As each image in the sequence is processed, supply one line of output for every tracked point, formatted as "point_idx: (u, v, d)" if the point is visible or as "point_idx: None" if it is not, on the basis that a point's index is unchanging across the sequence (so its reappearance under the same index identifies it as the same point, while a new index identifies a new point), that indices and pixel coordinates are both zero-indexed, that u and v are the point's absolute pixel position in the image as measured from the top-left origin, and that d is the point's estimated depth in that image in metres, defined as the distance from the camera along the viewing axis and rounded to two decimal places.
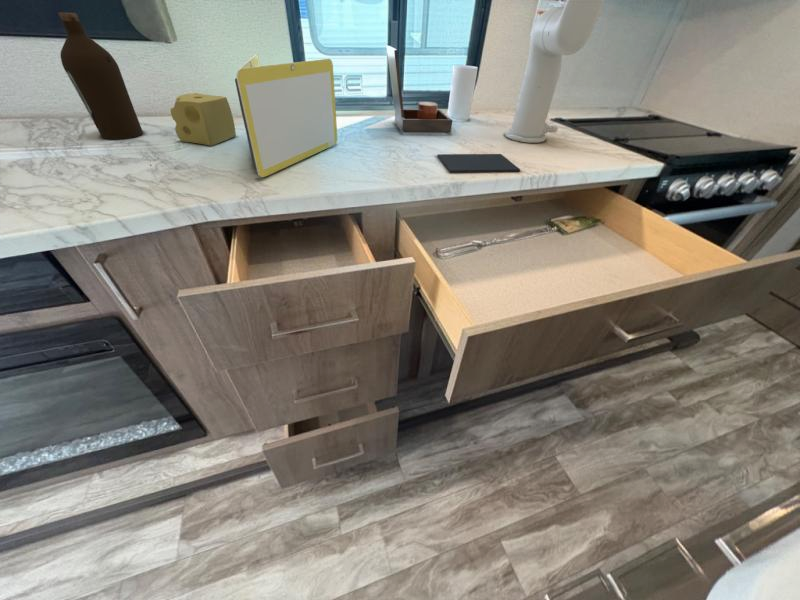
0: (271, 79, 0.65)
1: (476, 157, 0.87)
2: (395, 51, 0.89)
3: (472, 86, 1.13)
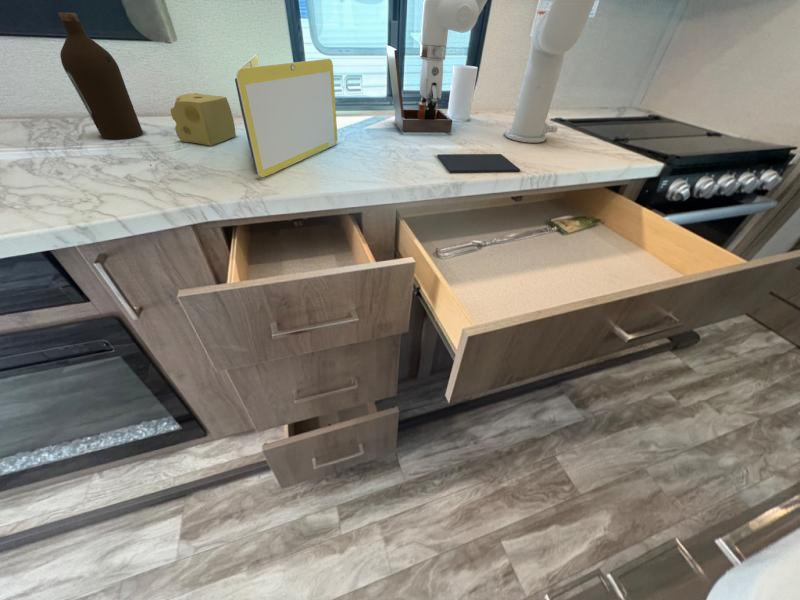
0: (271, 79, 0.65)
1: (476, 157, 0.87)
2: (395, 51, 0.89)
3: (472, 86, 1.13)
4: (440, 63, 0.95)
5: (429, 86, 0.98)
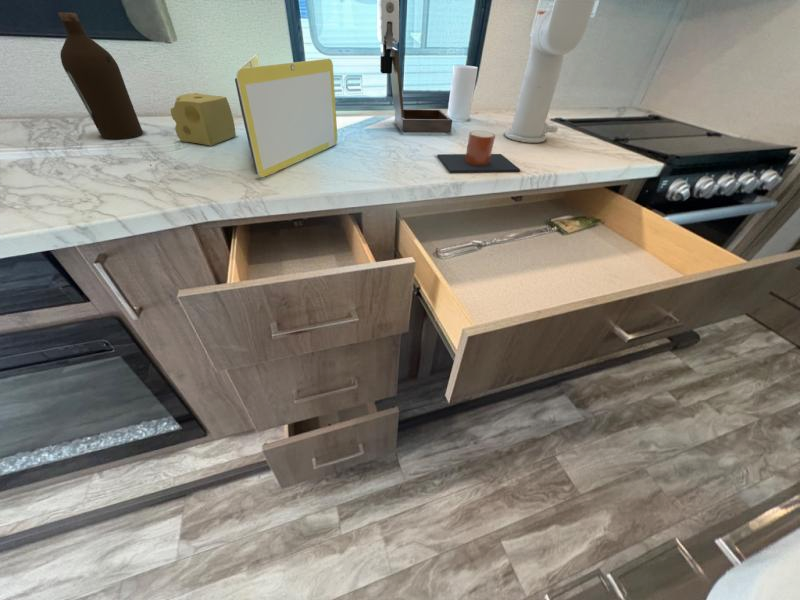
0: (271, 79, 0.65)
1: None
2: (396, 51, 0.89)
3: (472, 86, 1.13)
4: None
5: (384, 26, 0.87)
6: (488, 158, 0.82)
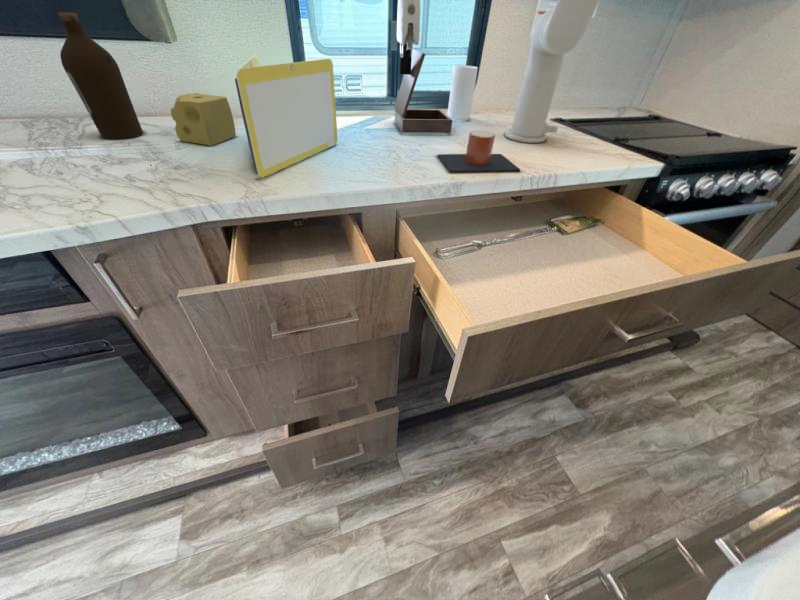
0: (271, 79, 0.65)
1: None
2: (423, 54, 0.90)
3: (472, 86, 1.13)
4: (416, 0, 0.85)
5: (405, 27, 0.88)
6: (488, 158, 0.82)
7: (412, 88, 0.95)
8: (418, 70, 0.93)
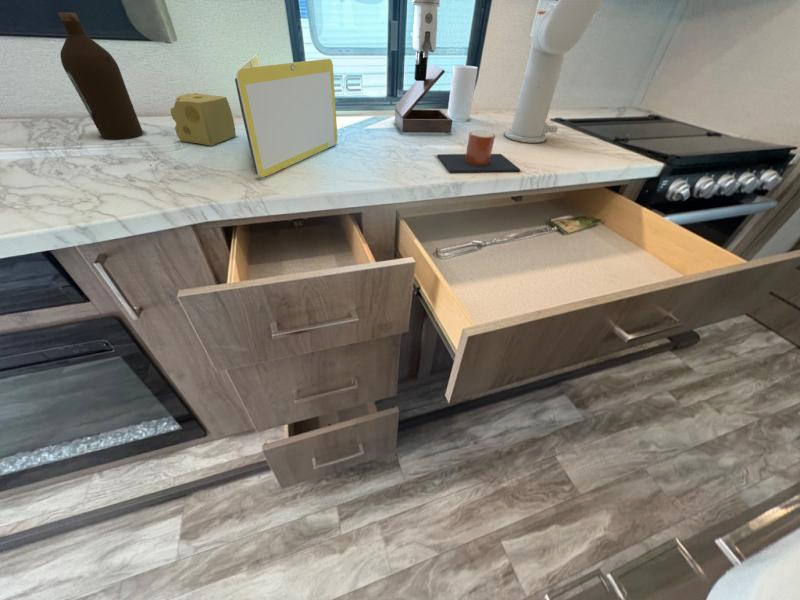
0: (271, 79, 0.65)
1: None
2: (443, 71, 0.94)
3: (472, 86, 1.13)
4: (434, 9, 0.87)
5: (422, 35, 0.90)
6: (488, 158, 0.82)
7: (422, 95, 0.97)
8: (433, 82, 0.95)
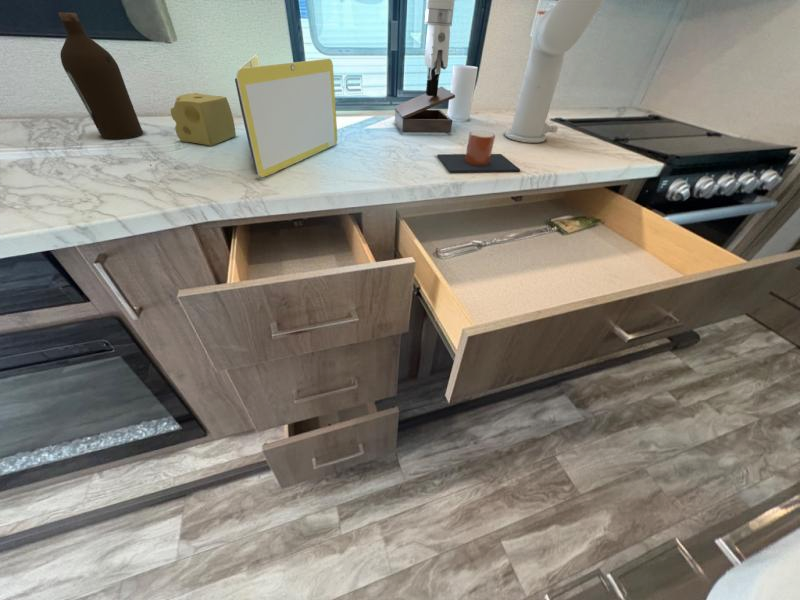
0: (271, 79, 0.65)
1: None
2: (454, 96, 0.98)
3: (472, 86, 1.13)
4: (447, 29, 0.90)
5: (435, 54, 0.93)
6: (488, 158, 0.82)
7: (427, 107, 0.99)
8: (442, 101, 0.99)
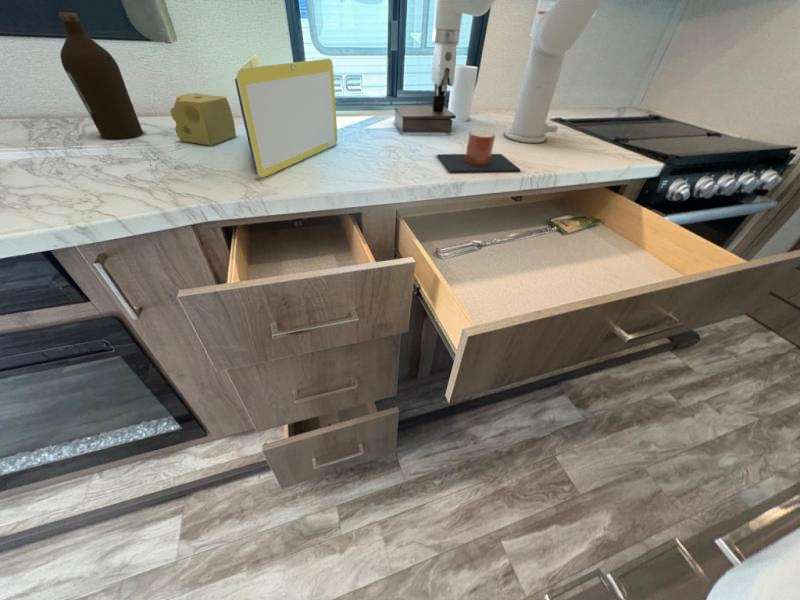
0: (271, 79, 0.65)
1: None
2: (454, 116, 1.02)
3: (472, 86, 1.13)
4: (453, 48, 0.93)
5: (442, 72, 0.96)
6: (488, 158, 0.82)
7: (428, 117, 1.01)
8: (443, 117, 1.01)
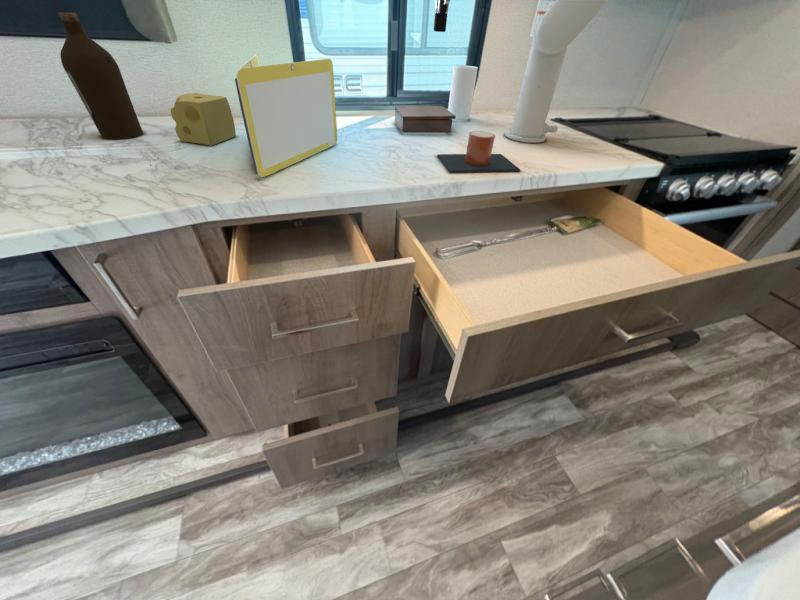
0: (271, 79, 0.65)
1: None
2: (454, 117, 1.02)
3: (472, 86, 1.13)
4: None
5: None
6: (488, 158, 0.82)
7: (428, 117, 1.01)
8: (443, 117, 1.02)
